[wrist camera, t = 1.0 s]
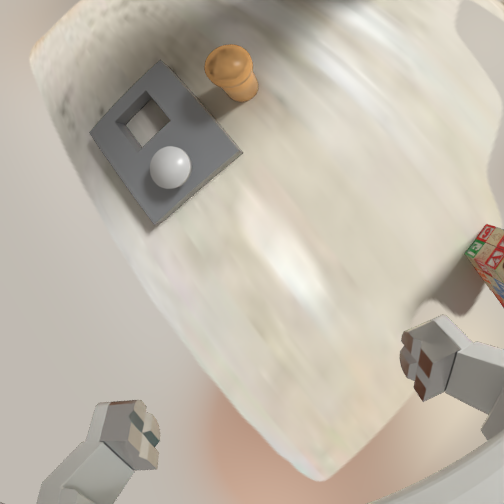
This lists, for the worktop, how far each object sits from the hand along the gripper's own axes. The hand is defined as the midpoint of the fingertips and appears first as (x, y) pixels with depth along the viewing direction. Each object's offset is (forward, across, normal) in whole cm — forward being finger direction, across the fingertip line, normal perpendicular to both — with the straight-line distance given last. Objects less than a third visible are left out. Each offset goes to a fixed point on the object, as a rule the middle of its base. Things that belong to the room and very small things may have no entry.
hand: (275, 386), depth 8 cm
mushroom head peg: (+37, -5, -12) cm, 39 cm away
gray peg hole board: (+39, +7, -7) cm, 40 cm away
